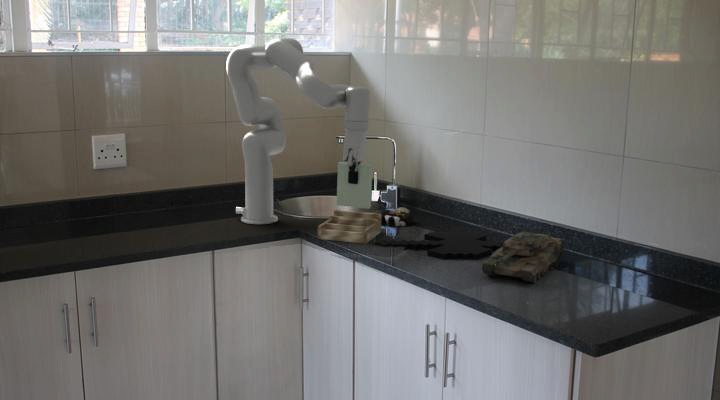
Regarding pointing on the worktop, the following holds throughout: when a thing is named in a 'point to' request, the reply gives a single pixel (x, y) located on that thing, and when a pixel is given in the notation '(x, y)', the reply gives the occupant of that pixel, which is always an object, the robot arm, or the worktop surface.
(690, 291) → the worktop surface
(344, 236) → the rack
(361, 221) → the offcut top
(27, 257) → the worktop surface
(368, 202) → the board
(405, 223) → the toy
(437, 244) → the decorative axe
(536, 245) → the toy
